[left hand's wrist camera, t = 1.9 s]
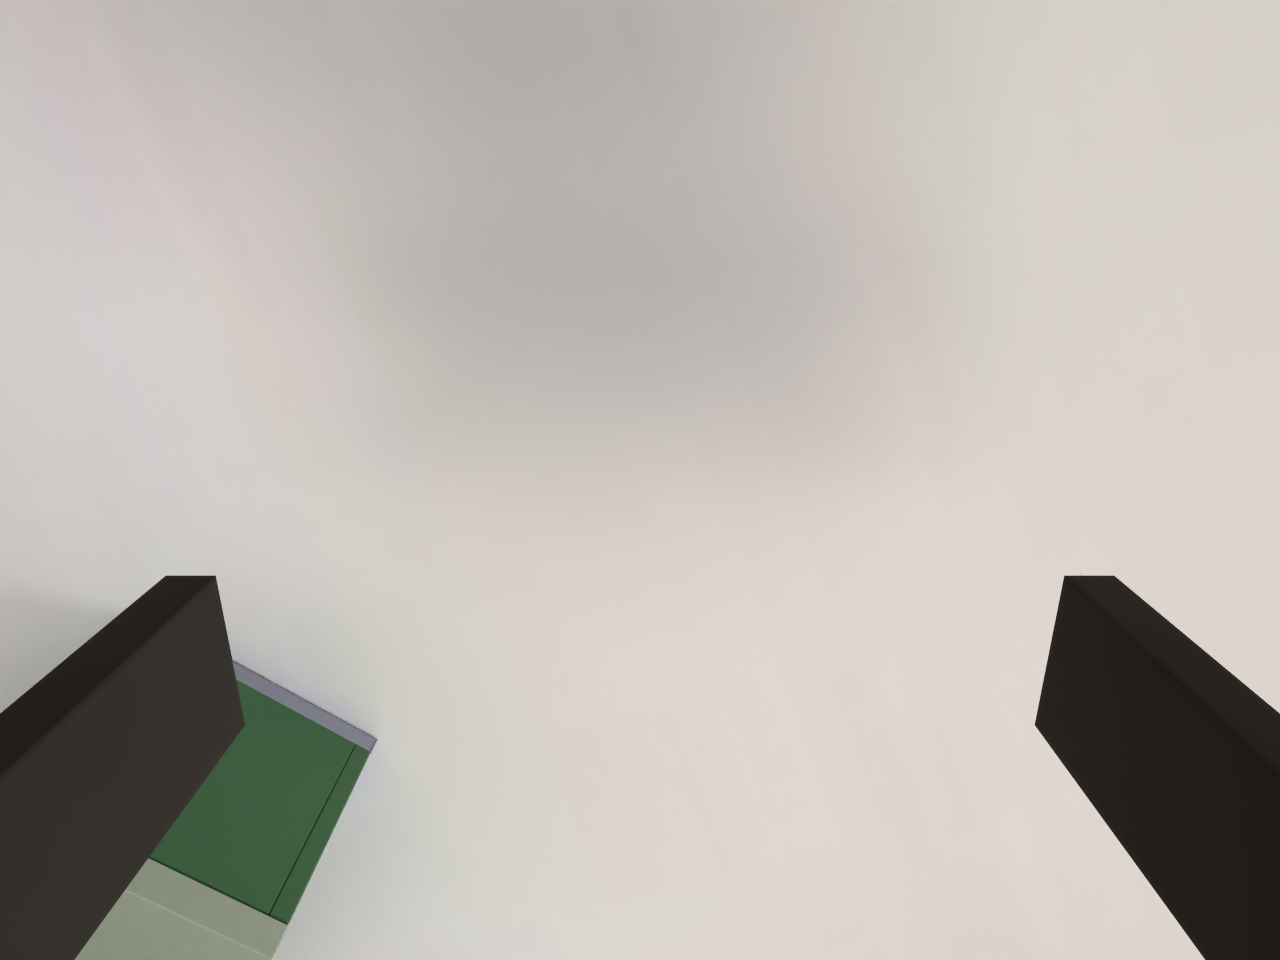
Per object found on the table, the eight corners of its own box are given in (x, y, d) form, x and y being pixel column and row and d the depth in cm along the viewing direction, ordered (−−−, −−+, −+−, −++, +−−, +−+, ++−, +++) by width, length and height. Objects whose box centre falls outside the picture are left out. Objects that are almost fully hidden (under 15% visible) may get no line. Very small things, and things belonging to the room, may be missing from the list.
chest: (238, 934, 39) (121, 1151, 31) (39, 840, 37) (-148, 1043, 29) (377, 739, 36) (289, 923, 27) (163, 623, 34) (-8, 779, 25)
